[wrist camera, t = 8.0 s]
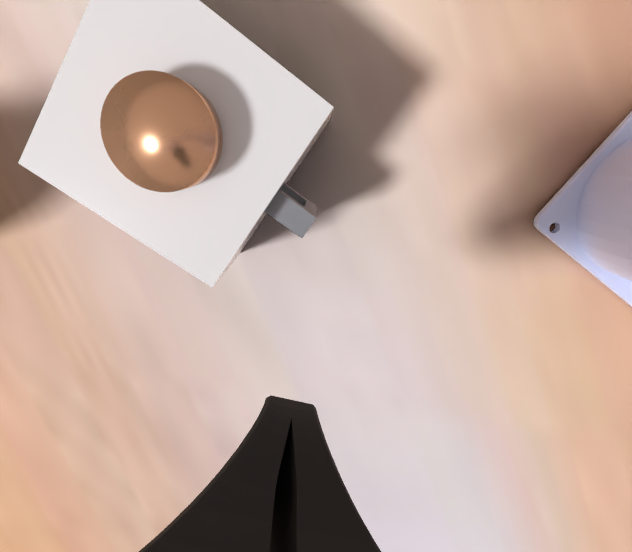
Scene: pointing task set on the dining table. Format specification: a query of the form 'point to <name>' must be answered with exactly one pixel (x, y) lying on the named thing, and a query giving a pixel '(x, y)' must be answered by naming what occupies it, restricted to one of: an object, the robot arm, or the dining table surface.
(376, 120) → the dining table surface
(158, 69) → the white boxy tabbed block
